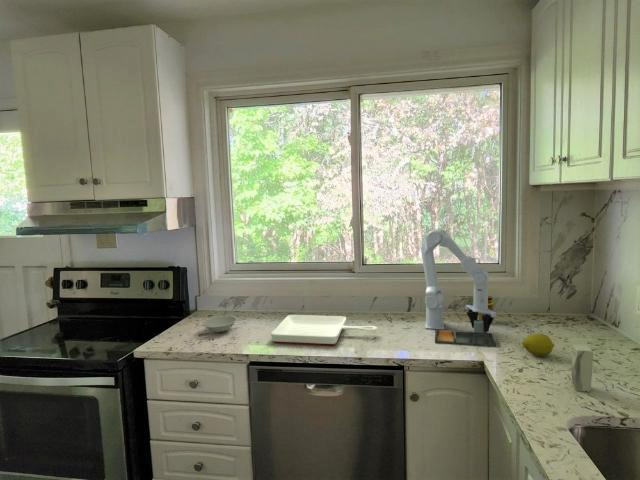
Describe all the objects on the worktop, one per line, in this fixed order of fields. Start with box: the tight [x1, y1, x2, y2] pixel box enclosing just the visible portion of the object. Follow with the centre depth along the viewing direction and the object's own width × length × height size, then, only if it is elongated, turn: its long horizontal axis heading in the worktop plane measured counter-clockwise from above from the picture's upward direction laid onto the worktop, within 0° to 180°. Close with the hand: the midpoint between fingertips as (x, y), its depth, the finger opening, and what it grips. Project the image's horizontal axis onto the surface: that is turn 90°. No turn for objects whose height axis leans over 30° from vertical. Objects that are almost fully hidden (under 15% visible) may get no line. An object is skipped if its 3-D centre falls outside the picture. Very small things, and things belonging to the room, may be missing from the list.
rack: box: [434, 329, 497, 348], centre depth 171 cm, size 10×23×2 cm, turn 74°
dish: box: [202, 314, 238, 333], centre depth 192 cm, size 18×14×5 cm
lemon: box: [521, 333, 555, 357], centre depth 154 cm, size 11×8×8 cm
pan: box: [270, 314, 379, 347], centre depth 183 cm, size 28×44×5 cm, turn 78°
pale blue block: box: [473, 319, 488, 333], centre depth 180 cm, size 3×5×5 cm, turn 74°
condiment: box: [478, 295, 497, 325], centre depth 194 cm, size 7×8×12 cm
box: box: [570, 344, 594, 393], centre depth 128 cm, size 5×4×13 cm
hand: (480, 329), depth 180 cm, fingers closed on pale blue block, 6 cm apart
